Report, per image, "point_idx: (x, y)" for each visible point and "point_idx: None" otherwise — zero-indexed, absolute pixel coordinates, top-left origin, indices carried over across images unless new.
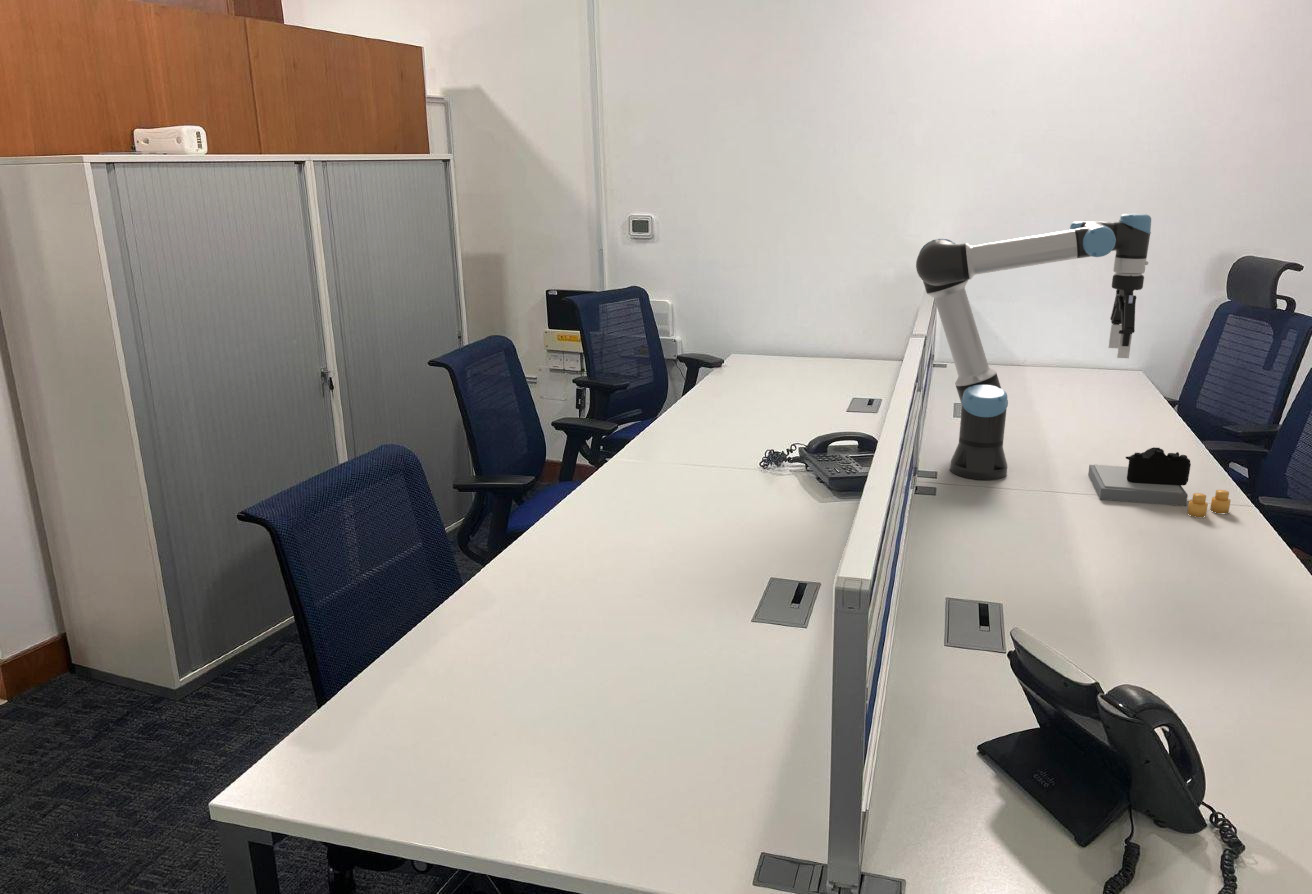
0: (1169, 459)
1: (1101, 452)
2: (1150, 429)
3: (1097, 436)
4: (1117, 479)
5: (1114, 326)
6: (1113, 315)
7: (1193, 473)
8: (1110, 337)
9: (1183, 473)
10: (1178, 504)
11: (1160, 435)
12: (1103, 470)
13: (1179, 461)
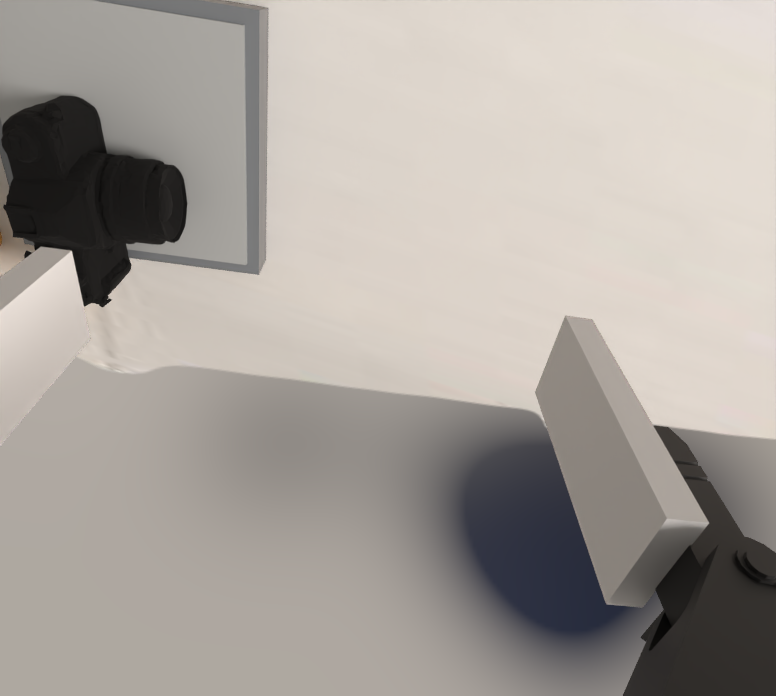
0: (35, 245)
1: (547, 152)
2: (759, 374)
3: (737, 199)
4: (73, 62)
5: (637, 521)
6: (766, 689)
7: (344, 341)
8: (598, 387)
9: None
10: None
11: (694, 378)
12: (171, 40)
13: None
